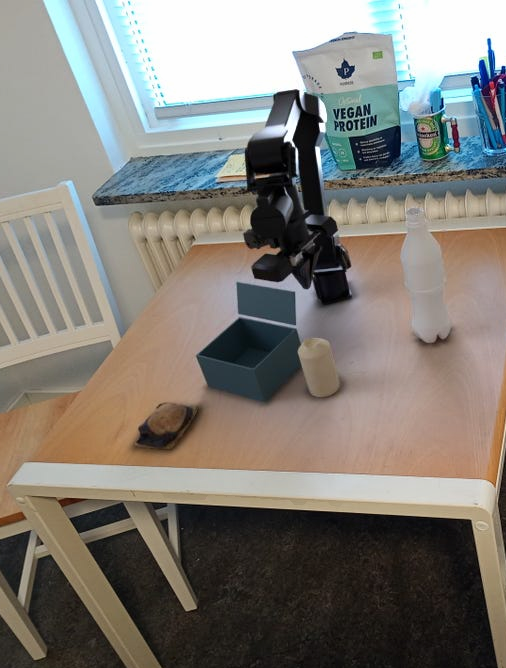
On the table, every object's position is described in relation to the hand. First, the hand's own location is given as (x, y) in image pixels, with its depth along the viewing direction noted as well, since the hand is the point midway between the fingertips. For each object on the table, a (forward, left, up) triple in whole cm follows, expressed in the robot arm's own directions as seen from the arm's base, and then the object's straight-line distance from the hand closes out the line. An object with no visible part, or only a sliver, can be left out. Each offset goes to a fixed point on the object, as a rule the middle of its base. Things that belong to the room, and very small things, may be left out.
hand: (307, 288), depth 132 cm
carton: (+13, +4, -12) cm, 18 cm away
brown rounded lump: (+30, +12, -12) cm, 35 cm away
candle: (+2, +14, -12) cm, 19 cm away
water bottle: (-20, +8, -12) cm, 25 cm away
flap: (+8, -1, -1) cm, 8 cm away
